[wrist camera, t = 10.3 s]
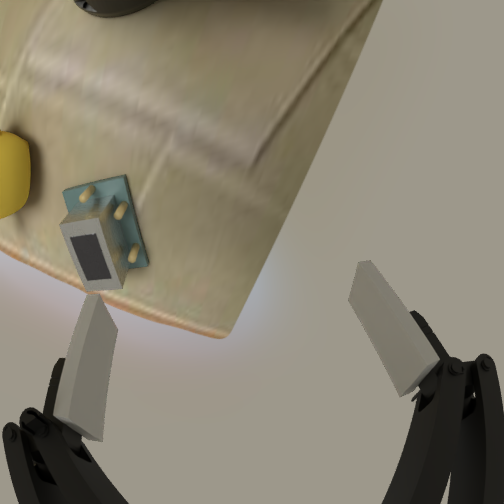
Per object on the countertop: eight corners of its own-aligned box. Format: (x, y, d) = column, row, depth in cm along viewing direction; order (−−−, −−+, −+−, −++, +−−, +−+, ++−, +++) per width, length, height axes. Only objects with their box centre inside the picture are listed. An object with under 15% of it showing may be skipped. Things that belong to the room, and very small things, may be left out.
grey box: (78, 201, 33) (58, 225, 27) (114, 194, 34) (98, 218, 28) (98, 262, 39) (86, 291, 33) (131, 259, 40) (122, 289, 34)
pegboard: (65, 189, 32) (51, 202, 29) (125, 174, 33) (116, 186, 30) (94, 269, 41) (86, 287, 37) (148, 261, 42) (144, 280, 38)
